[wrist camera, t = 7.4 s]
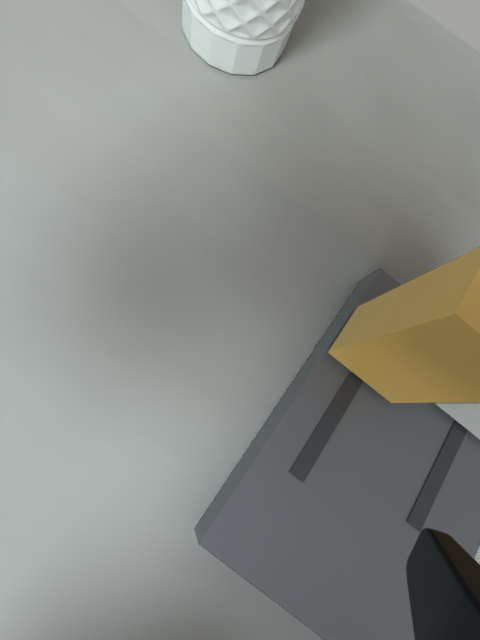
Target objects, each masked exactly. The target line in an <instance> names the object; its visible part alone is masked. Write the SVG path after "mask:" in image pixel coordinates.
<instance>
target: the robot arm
mask: <svg viewBox="0 0 480 640" xmlns="http://www.w3.org/2000/svg"><path fill="white" fill-rule="evenodd" d="M406 577H407V585H408V592H409V600H410V608H411V616H412V624H413V631H414V639H415V640H480V565H479V564H478V563H477V562H476V561H475V560H474V559H473V558H472V557H471V556H470V555H469V554H468V553H467V552H466V551H465V550H464V549H463V548H462V547H461V546H460V545H459V544H458V543H457V542H456V541H455V540H454V539H453V538H452V537H451V536H450V535H449V534H447V533H445V532H442V531H438V530H435V529H432V528H424V529H423V530H422V531H421V532H420V534H419V536H418V538H417V540H416V542H415V545H414V547H413V549H412V551H411V553H410V555H409V557H408V560H407V564H406Z"/></svg>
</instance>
